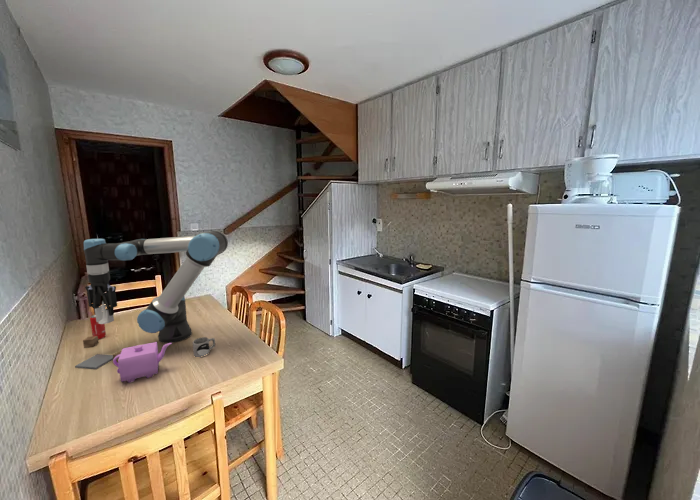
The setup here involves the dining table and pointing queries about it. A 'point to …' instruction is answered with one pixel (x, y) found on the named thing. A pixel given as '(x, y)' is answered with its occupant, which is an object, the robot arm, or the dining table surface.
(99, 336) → the beverage can
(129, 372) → the teapot
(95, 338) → the walnut cube
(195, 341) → the mug
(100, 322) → the chess piece
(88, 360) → the coaster
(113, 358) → the walnut cube
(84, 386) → the dining table surface
